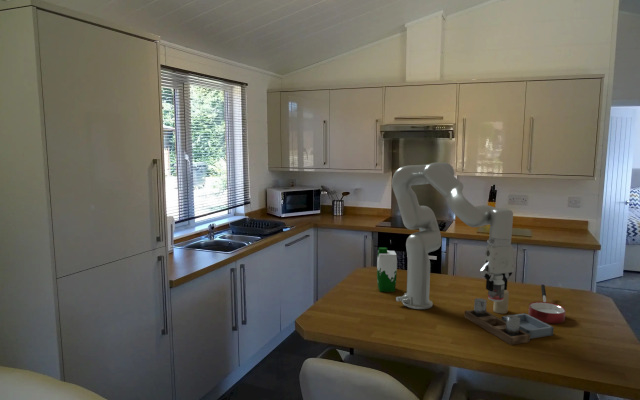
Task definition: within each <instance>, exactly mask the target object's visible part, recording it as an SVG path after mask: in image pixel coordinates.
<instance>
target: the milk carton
mask: <svg viewBox="0 0 640 400" xmlns="http://www.w3.org/2000/svg"><path fill="white" fill-rule="evenodd" d="M376 260H377V261H376V267H377V268H376V282H377V289H378V291H379V292H380V293H381V292H383V293H385V292H387V293H388V292H389V293H391V292H392V293H396V285H397V278H398V277H397V272H398V271H397V270H398V269H397V268H398V258H397V253H396V251H395V250H388V247H384V246H382V247H378V250H377V259H376Z"/></svg>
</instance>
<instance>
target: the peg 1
mask: <svg viewBox="0 0 640 400" xmlns="http://www.w3.org/2000/svg"><path fill="white" fill-rule="evenodd" d="M473 305H474V306H473V310H474V315H475V316H477V317H485V316H486V311H487V299H485V298H480V297H475V299H474V304H473Z"/></svg>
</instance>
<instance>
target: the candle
mask: <svg viewBox="0 0 640 400" xmlns="http://www.w3.org/2000/svg"><path fill="white" fill-rule="evenodd" d="M509 293H510V292H509V291H508V289H507V290H504V298H503V301H501V302H495V301H493V306H492V307H493V308H492V309H493V312H494V313H496V314H501V315H503V314H505V315H506V314H508V309H509V298H510V297H509V296H510V295H509Z"/></svg>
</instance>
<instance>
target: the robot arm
mask: <svg viewBox="0 0 640 400" xmlns="http://www.w3.org/2000/svg"><path fill="white" fill-rule="evenodd" d="M392 175H393V176H392V179H391V187H392V190H393V193H394V196H395V199H396V202H397V205H398V209H399V213H400V217H401V219H402V224H403V225H404V227H405V228H406V229H408V230H411V231H412V230H419V231H416V232H413V233H411V234H410V235H409V236H408V237H407V238H406V242H405V248H406V255H407V266H406V267H407V268H406V269H407V271H406V272H407V273H406V275H407V276H406V292H404V294H403V295H401V296H396V297H395V301H396V302H401V303H402V304H403V306H405V307H407V308H409V309H414V310H427V309H431V308H433V301H432V300H430V288H431V287H430V285H431V284H430V281H431V280H430V279H431V261H430V258H429V253H431V252H435V251H437V250H439V249H440V247H441V246H442V243H443V241H442V234H441V231H440V227H439V224H438V220H437V218H436V215H435V212H434V210H432V208H430V207H429V206H427V205H420V204H419V200H418V196H417V193H416V192H415V191H414V190H413V189H412V186H419V185H431V186H432V187H433V188H434V189H435V190H437V192H439V194H441V196H443V198H445V199H446V201H447V203H448V206H449V208H450V209H451V211H452V213H453V214H454V215H455V216H456V217H457V218H458V219H459V220H460V221H461V222H462V223H464V224H466V225H467V226H469V227H471V228H479V227H482V226H489V225H490V226H489V233H488V234H489V237H488V239H487V241H486V243H487V246H486V250H485V253H484V260H483V266H482V267H481V268H480V270H479V273H480V274H481V275H482V276H483V277H484V279H485V282H486V283H485V290H487V291H491V292H492V291H493V284H494V282H493V281H492V280H493V277H494V274H502V275H503V279H502V280H503V281H504V282H505V284H504V290H507V291H508V281H509V279H510V277H511V276H512V274H513V273H514V272H515V271H516V267H515V266H514V264H515V257H514V255H515V254H514V248H513V247H514V246H513V245H512V237H513V236H512V235H513V234H512V233H513V224H514V223H513V221H514V212H513V210H512V209H509V208H503V207H495V206H492V205H487V204H484V205H483V204H482V205H477V206H474V204H472V203H471V202H470V201H469V200H468V199H467V198H466V197H465V196H464V194H463V189H464V184H463V182H461V181H460V180H459V179H458V178H457V177H456V176H455V169H454V168H453V166H452V165H451V164H450V163H449V162H445V161H443V162H442V161H441V162H437V161H436V162H431V163H428V164H415V165H414V164H413V165H411V164H409V165H405V166H401V167H399V168H398V169H397V170H395V171H394V173H393V174H392Z"/></svg>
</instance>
